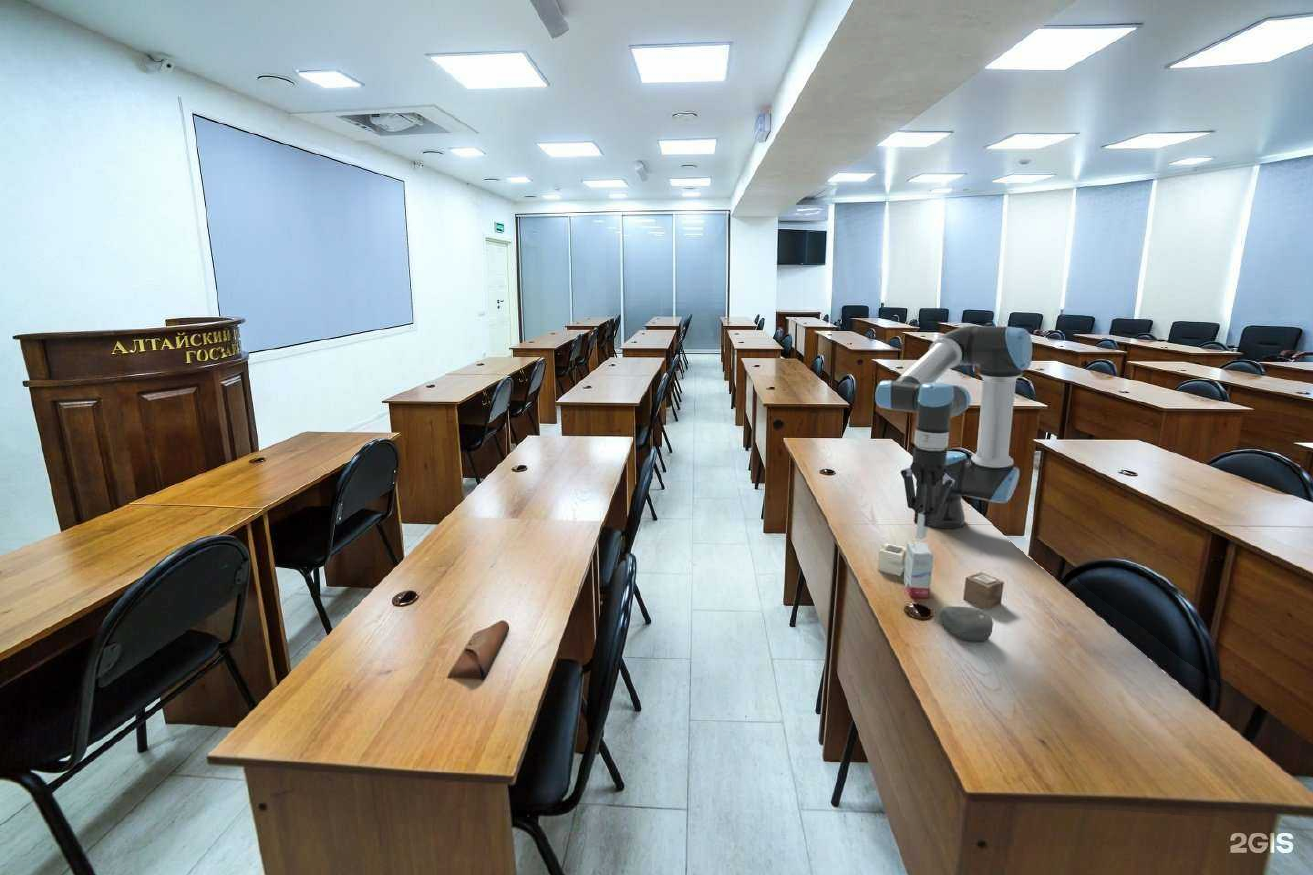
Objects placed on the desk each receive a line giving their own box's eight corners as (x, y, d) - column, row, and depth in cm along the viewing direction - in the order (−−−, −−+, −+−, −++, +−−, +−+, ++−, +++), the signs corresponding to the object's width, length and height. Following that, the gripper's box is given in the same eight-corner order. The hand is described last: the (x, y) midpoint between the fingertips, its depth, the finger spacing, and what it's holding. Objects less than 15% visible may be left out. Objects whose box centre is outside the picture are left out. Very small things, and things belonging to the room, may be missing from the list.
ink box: (929, 598, 155) (934, 555, 152) (909, 597, 156) (913, 554, 153) (922, 583, 163) (926, 541, 160) (903, 581, 164) (906, 540, 161)
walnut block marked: (978, 593, 158) (981, 571, 156) (1000, 603, 152) (1004, 581, 151) (963, 599, 155) (966, 576, 153) (985, 610, 150) (988, 586, 148)
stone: (970, 617, 146) (985, 593, 139) (986, 652, 139) (1001, 629, 133) (932, 618, 146) (945, 594, 140) (946, 653, 140) (959, 629, 133)
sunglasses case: (473, 630, 143) (486, 608, 141) (500, 644, 144) (513, 622, 142) (445, 679, 126) (459, 655, 124) (475, 695, 126) (490, 671, 125)
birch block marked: (884, 562, 175) (886, 542, 174) (906, 568, 172) (908, 547, 170) (877, 570, 171) (879, 549, 169) (899, 576, 167) (901, 555, 166)
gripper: (897, 444, 152) (889, 533, 158) (951, 455, 143) (940, 549, 149) (911, 439, 157) (903, 525, 163) (964, 449, 148) (953, 540, 154)
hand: (921, 536), depth 156 cm, fingers closed
